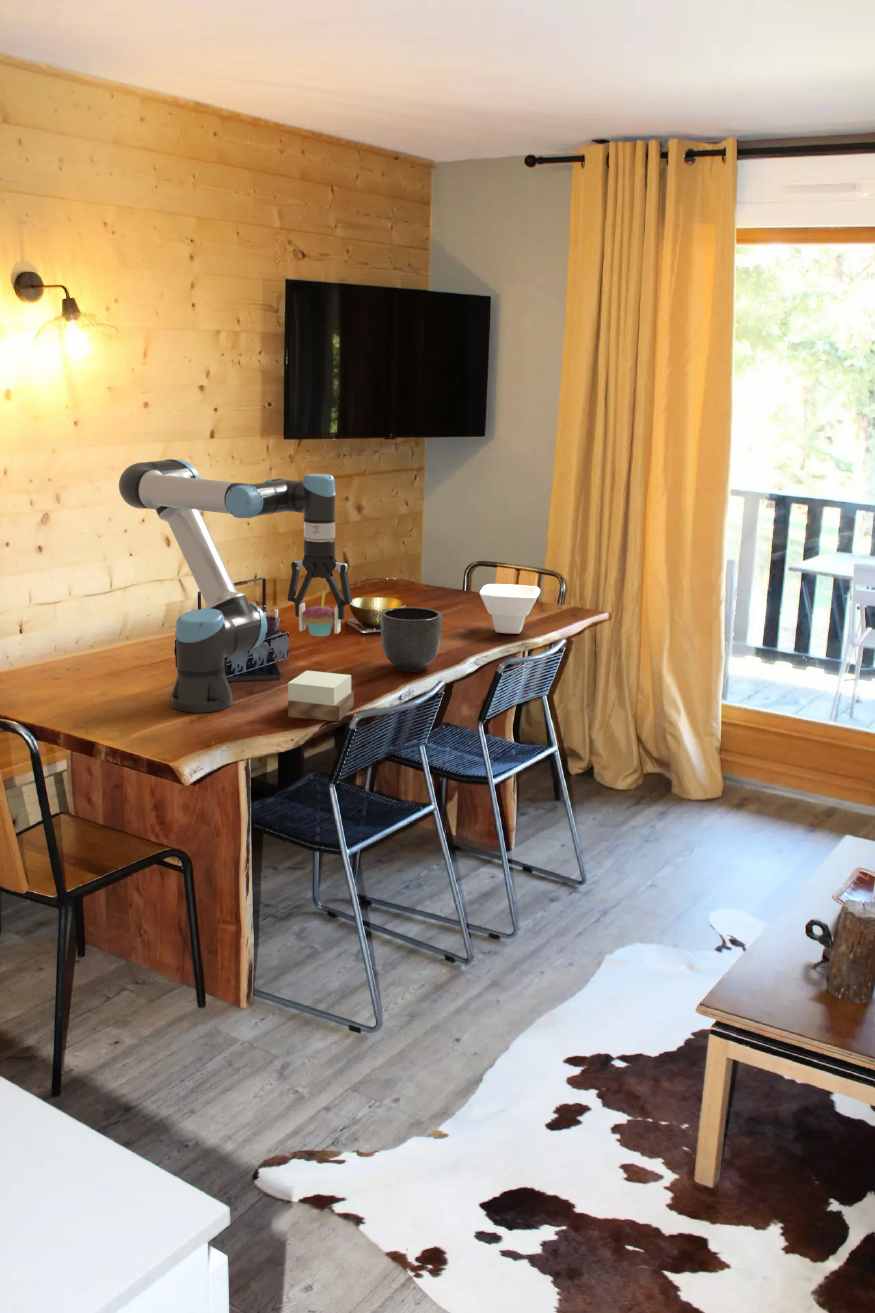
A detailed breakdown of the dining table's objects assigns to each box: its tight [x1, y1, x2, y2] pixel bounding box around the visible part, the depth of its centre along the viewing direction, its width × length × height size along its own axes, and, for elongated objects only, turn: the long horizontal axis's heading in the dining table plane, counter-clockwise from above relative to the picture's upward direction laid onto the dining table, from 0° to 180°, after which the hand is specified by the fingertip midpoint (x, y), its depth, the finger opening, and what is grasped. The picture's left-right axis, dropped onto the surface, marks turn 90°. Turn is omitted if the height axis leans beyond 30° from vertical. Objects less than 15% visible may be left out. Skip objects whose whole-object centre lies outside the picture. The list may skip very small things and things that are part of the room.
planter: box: [380, 606, 443, 673], centre depth 327 cm, size 17×17×16 cm
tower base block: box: [287, 690, 355, 722], centre depth 288 cm, size 13×13×4 cm
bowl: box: [479, 583, 541, 635], centre depth 372 cm, size 19×19×14 cm
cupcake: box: [302, 587, 335, 637], centre depth 283 cm, size 9×8×12 cm
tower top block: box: [287, 670, 352, 706], centre depth 287 cm, size 12×12×4 cm
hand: (319, 630), depth 284 cm, fingers closed on cupcake, 8 cm apart
